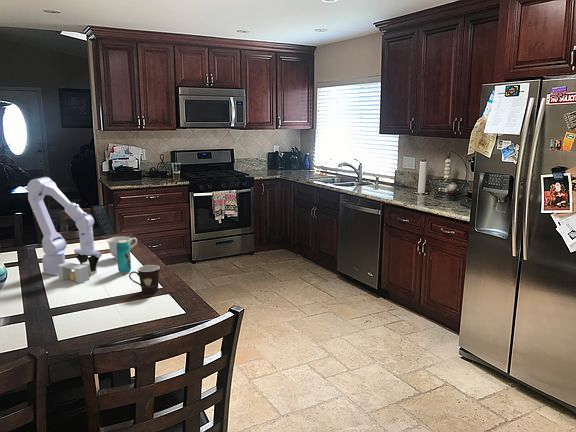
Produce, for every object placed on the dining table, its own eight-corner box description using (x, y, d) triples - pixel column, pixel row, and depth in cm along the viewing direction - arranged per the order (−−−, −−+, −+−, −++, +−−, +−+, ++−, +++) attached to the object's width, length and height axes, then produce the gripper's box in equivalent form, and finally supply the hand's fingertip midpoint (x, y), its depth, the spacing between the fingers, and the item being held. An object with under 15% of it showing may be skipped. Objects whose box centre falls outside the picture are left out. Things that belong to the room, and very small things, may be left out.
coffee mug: (164, 289, 198) (163, 266, 196) (152, 296, 190) (151, 272, 188) (141, 285, 202) (140, 263, 199) (128, 292, 194) (127, 269, 192)
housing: (58, 279, 209) (57, 265, 207) (68, 275, 213) (66, 262, 212) (80, 283, 204) (78, 268, 203) (89, 279, 208) (87, 265, 207)
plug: (68, 279, 209) (67, 268, 207) (89, 271, 219) (88, 260, 218) (76, 280, 207) (75, 269, 206) (96, 272, 218) (95, 262, 217)
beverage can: (127, 274, 215) (125, 243, 212) (115, 273, 217) (113, 242, 213) (133, 270, 221) (131, 239, 218) (122, 269, 222) (120, 239, 219)
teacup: (141, 258, 240) (140, 239, 238) (111, 263, 232) (110, 243, 230) (134, 252, 250) (133, 234, 248) (105, 257, 242) (104, 238, 240)
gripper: (67, 242, 213) (70, 270, 215) (92, 245, 207) (94, 275, 210) (80, 238, 219) (82, 266, 222) (104, 241, 213) (106, 270, 216)
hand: (89, 270), depth 216 cm, fingers closed on plug, 4 cm apart
